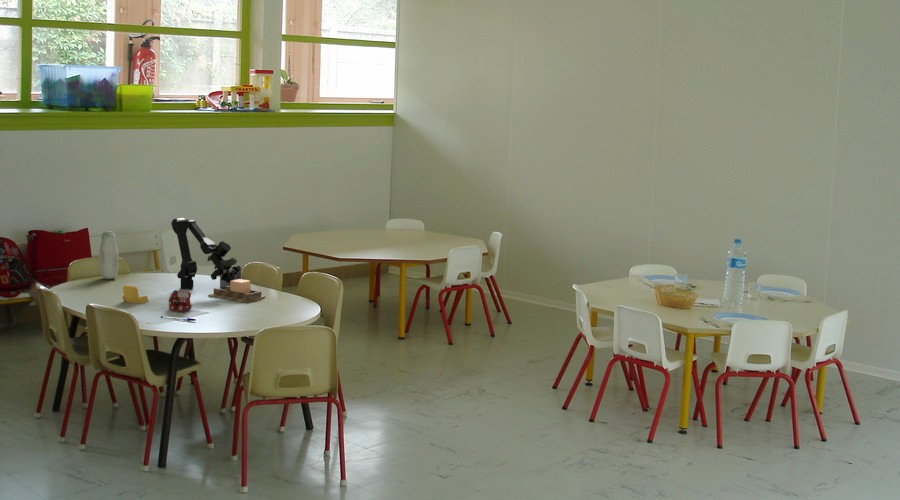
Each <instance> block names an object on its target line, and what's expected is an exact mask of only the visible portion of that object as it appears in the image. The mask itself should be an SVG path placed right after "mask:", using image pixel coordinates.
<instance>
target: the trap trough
mask: <svg viewBox="0 0 900 500" xmlns="http://www.w3.org/2000/svg"><path fill="white" fill-rule="evenodd" d="M207 296H208V297H209V298H214V297H215V298H216V299H221V300H227V301H231V302H232V301H233V302H239V303H244V304H246V303H250V302H254V301H259V300H263V299H266V296H265V295H262V291H260V290H254V289H251V294H246V293H240V292H235V291H230V286H225V289H224V288H216V287H215V288H213V293H210V294H209V293H208V294H207ZM215 298H214V299H215Z"/></svg>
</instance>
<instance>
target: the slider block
mask: <svg viewBox="0 0 900 500" xmlns="http://www.w3.org/2000/svg"><path fill="white" fill-rule="evenodd" d="M251 287H252V285H251V280H249V279H242V278H241V279H237V280H232V281H230V291H235V292H240V293H246V294H251V290H252V289H251Z"/></svg>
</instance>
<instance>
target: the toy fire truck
mask: <svg viewBox="0 0 900 500" xmlns="http://www.w3.org/2000/svg"><path fill="white" fill-rule="evenodd" d="M191 294H192V293H191V292H190V291H184V290H183V291H182V290H176V289H174V290H173V292H172V293H171V294H170V296H169V298H168V309H169V312H176V311H178V312H179V313H182V314H183V313H184V312H185V311H190V310H192V308H193V305H192V303H191V297H192V295H191Z"/></svg>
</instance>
